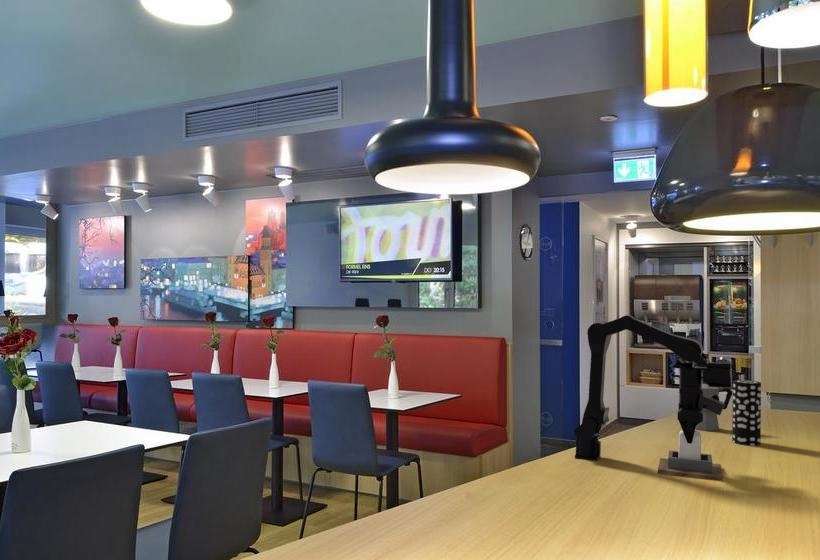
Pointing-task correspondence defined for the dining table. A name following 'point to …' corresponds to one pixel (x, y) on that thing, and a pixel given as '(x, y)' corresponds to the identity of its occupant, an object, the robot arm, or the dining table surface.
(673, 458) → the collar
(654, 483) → the dining table surface
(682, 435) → the eye dropper bottle
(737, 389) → the white-spotted black cylinder
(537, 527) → the dining table surface
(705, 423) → the coffeepot
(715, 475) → the socket board
